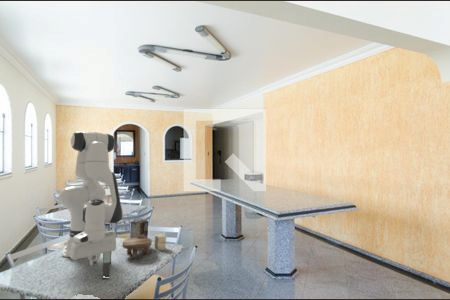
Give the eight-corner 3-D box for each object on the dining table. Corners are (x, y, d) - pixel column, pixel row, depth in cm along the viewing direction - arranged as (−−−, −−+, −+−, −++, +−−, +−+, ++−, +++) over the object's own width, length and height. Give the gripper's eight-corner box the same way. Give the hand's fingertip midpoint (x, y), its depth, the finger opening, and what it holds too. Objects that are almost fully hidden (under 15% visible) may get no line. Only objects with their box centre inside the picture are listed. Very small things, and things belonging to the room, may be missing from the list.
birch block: (154, 248, 173) (155, 235, 174) (161, 246, 176) (162, 234, 177) (157, 250, 169) (158, 237, 170) (165, 249, 172) (165, 236, 173)
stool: (118, 253, 162) (119, 239, 162) (145, 249, 171) (145, 235, 172) (127, 262, 149) (127, 247, 149) (155, 257, 159) (156, 243, 159)
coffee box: (141, 244, 181) (142, 219, 181) (147, 246, 177) (148, 220, 177) (129, 247, 173) (130, 221, 173) (135, 249, 169) (136, 223, 170)
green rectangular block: (102, 262, 147) (103, 247, 147) (110, 261, 149) (111, 246, 149) (101, 279, 128) (102, 261, 128) (110, 278, 130) (111, 260, 130)
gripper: (113, 229, 141) (112, 257, 141) (69, 237, 126) (68, 268, 126) (119, 232, 137) (118, 260, 136) (74, 240, 122) (73, 272, 122)
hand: (93, 264), depth 131 cm, fingers closed
